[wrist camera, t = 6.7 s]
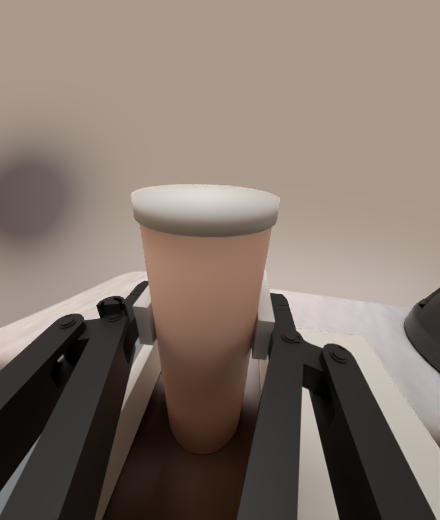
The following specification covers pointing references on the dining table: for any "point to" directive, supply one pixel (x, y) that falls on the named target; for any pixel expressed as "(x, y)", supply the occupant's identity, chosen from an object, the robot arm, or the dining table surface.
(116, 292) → the dining table surface
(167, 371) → the tube
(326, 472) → the white holder tray
